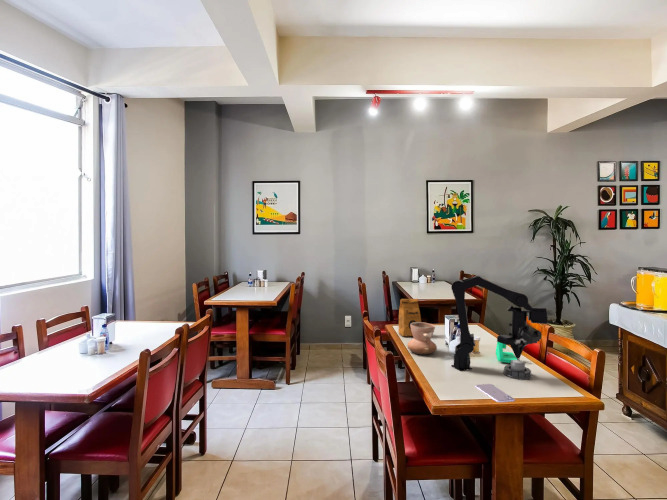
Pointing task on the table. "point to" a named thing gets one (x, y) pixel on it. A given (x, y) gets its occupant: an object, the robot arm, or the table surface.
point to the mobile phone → (494, 393)
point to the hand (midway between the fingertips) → (517, 358)
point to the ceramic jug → (422, 338)
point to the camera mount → (504, 353)
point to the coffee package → (408, 315)
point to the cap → (518, 365)
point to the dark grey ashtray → (517, 373)
